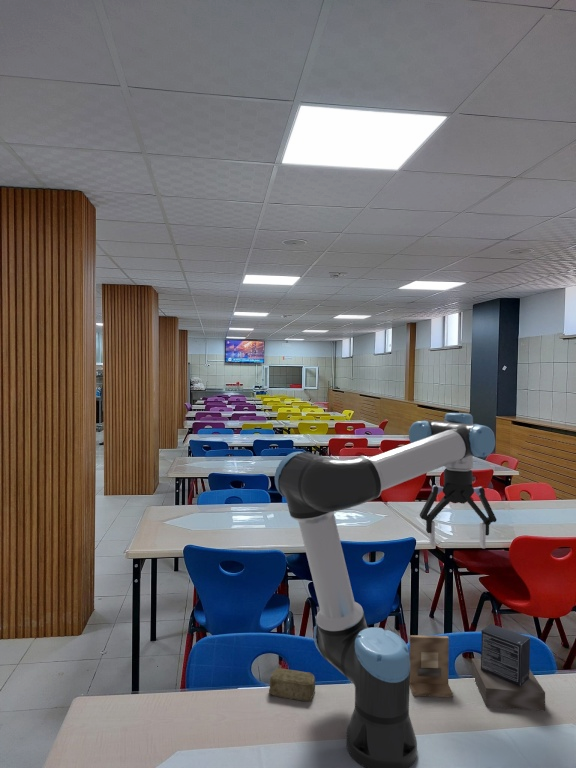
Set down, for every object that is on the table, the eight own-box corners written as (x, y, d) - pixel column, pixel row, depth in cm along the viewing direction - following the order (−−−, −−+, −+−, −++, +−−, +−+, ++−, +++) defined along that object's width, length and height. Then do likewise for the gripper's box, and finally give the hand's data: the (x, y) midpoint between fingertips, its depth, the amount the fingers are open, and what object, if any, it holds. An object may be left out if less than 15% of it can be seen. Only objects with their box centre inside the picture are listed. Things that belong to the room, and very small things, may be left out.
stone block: (312, 704, 125) (312, 683, 125) (267, 697, 128) (267, 677, 128) (316, 690, 131) (316, 671, 131) (273, 684, 133) (273, 665, 133)
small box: (530, 677, 130) (531, 636, 130) (520, 687, 125) (521, 645, 125) (490, 660, 137) (491, 622, 138) (479, 669, 133) (480, 630, 133)
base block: (485, 708, 125) (486, 688, 125) (471, 676, 139) (471, 658, 139) (545, 713, 123) (545, 692, 123) (524, 680, 137) (524, 661, 137)
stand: (413, 695, 129) (413, 644, 129) (408, 682, 135) (408, 633, 135) (452, 697, 128) (453, 645, 128) (446, 683, 134) (446, 634, 134)
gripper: (414, 469, 137) (413, 548, 136) (509, 472, 135) (508, 552, 134) (410, 465, 144) (409, 540, 144) (499, 468, 142) (498, 543, 142)
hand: (457, 546), depth 139 cm, fingers open, 13 cm apart
